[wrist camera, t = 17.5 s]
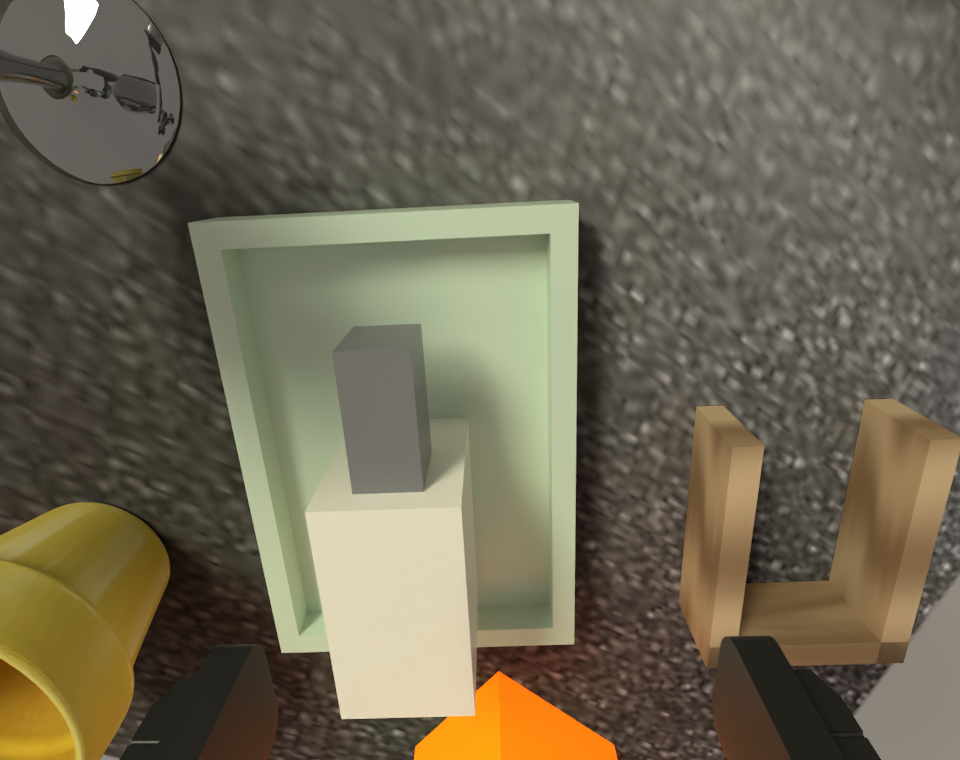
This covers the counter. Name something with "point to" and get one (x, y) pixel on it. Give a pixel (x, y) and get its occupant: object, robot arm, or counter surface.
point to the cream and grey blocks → (396, 538)
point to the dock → (859, 549)
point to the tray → (449, 381)
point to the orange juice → (512, 730)
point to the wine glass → (88, 86)
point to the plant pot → (73, 627)
